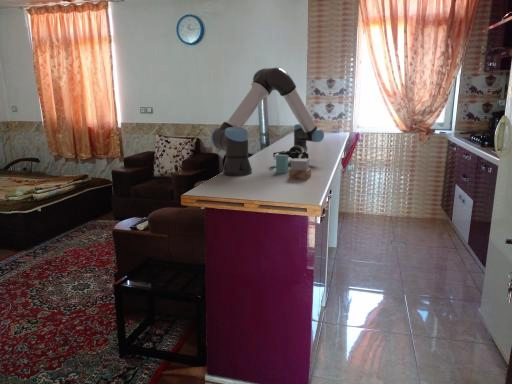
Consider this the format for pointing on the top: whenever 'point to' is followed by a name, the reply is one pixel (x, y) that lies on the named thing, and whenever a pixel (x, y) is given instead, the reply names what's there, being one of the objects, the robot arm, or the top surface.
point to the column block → (281, 163)
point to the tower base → (300, 174)
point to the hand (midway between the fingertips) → (287, 157)
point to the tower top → (299, 164)
